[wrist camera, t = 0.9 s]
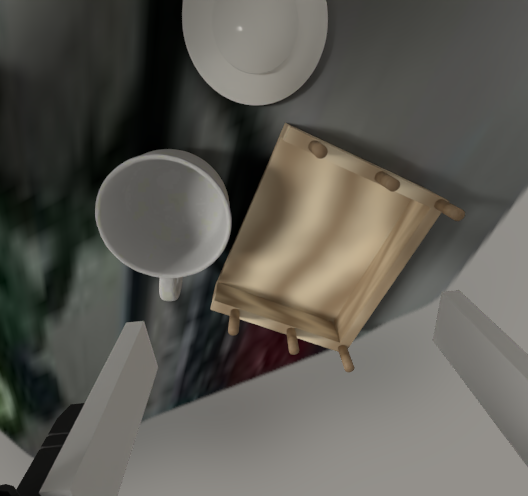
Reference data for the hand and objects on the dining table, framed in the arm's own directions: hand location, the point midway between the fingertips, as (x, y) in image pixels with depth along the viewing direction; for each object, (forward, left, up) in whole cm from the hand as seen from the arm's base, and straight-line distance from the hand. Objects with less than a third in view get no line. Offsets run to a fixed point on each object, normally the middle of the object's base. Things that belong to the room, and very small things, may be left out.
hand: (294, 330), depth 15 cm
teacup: (-8, -5, -21) cm, 23 cm away
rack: (+6, -3, -21) cm, 22 cm away
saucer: (-7, +13, -22) cm, 26 cm away
